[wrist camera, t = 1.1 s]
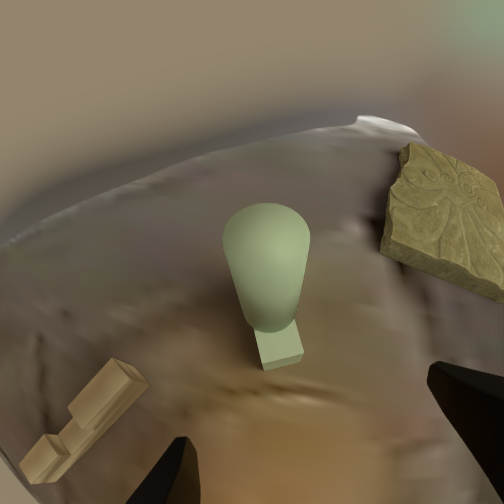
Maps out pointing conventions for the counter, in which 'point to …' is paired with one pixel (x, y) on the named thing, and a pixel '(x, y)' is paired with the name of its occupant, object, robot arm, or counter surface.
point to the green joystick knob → (269, 276)
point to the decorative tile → (446, 221)
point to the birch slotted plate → (85, 421)
